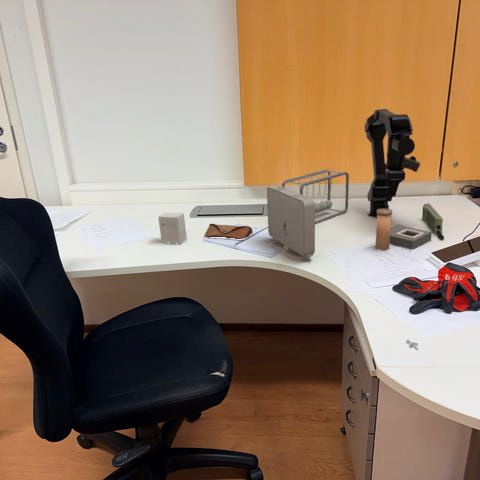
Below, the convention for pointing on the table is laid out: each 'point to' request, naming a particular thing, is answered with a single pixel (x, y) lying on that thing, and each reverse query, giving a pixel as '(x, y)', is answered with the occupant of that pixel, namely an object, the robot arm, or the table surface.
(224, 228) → the sunglasses case
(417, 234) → the block
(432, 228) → the handheld radio
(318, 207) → the newton's cradle
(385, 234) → the plug
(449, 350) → the table surface
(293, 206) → the network device
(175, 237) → the small box
